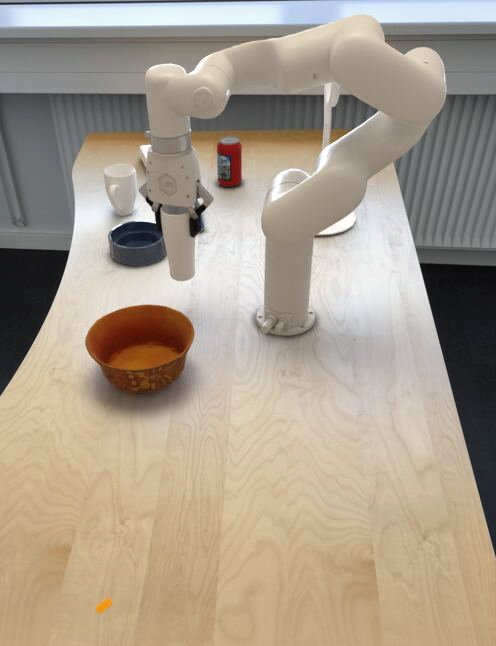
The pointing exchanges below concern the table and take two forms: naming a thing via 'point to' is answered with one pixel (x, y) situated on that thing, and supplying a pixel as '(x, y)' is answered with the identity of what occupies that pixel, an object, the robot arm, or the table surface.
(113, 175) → the mug
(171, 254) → the tall white cup
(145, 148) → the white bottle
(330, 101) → the desk lamp
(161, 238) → the blue bowl
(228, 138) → the beverage can
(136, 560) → the table surface
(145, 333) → the bowl
